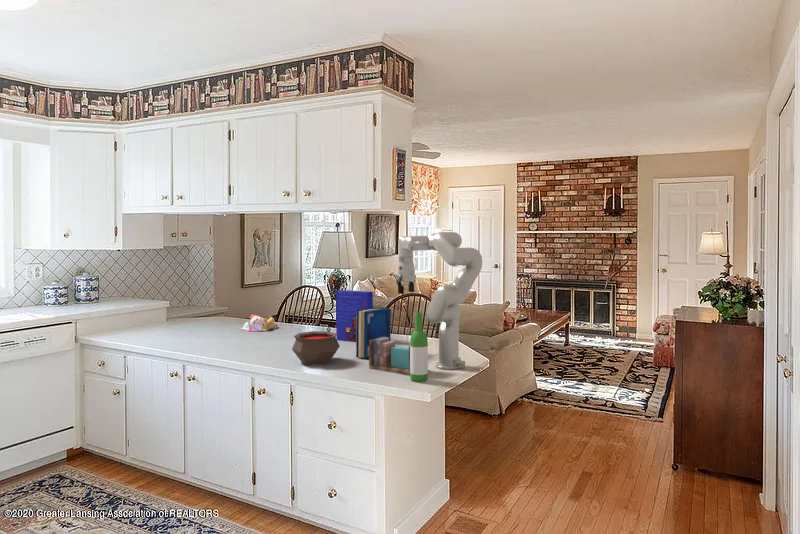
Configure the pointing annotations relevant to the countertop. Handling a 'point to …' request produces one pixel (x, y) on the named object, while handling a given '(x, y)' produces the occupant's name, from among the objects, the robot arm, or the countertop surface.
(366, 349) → the book
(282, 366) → the countertop surface
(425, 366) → the wine bottle
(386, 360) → the shelf
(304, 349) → the brown bowl
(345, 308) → the cereal box
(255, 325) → the candy landscape model
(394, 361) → the teal book
